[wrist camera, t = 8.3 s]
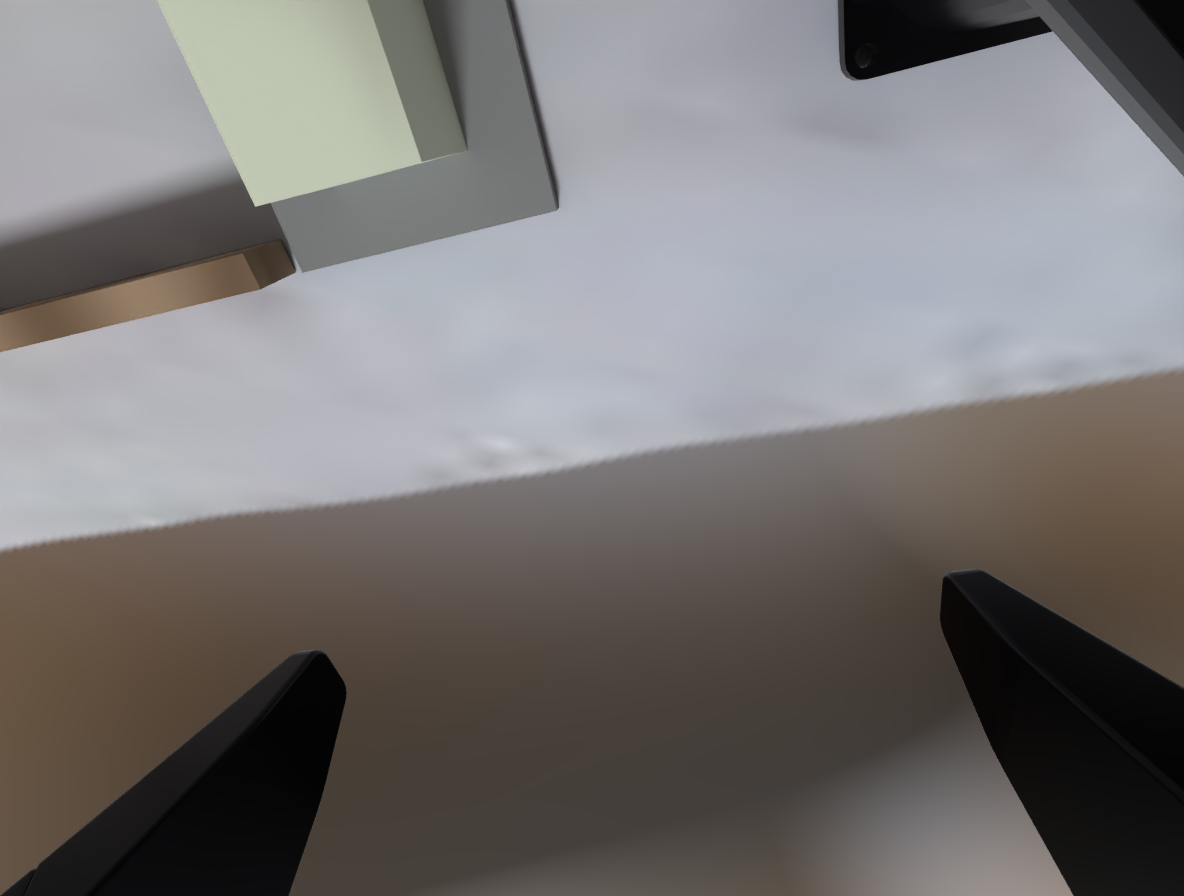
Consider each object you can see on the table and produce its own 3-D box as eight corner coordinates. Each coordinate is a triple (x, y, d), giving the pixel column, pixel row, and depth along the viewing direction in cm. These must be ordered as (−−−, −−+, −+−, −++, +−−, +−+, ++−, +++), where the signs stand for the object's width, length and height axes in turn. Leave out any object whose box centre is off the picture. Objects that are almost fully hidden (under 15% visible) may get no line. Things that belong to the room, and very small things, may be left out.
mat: (436, -296, 12) (429, -312, 12) (558, 208, 17) (557, 210, 16) (112, -165, 14) (95, -174, 13) (310, 268, 18) (302, 272, 18)
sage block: (378, -146, 13) (287, -237, 10) (467, 150, 16) (421, 161, 12) (222, -88, 14) (83, -155, 10) (334, 186, 17) (255, 206, 13)
